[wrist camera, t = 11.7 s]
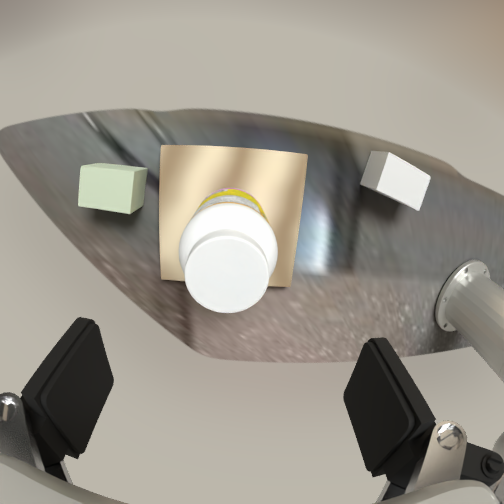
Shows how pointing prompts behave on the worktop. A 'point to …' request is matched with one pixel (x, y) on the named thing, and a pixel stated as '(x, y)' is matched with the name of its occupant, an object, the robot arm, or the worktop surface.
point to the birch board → (230, 176)
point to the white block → (395, 179)
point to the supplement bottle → (228, 251)
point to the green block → (112, 187)
